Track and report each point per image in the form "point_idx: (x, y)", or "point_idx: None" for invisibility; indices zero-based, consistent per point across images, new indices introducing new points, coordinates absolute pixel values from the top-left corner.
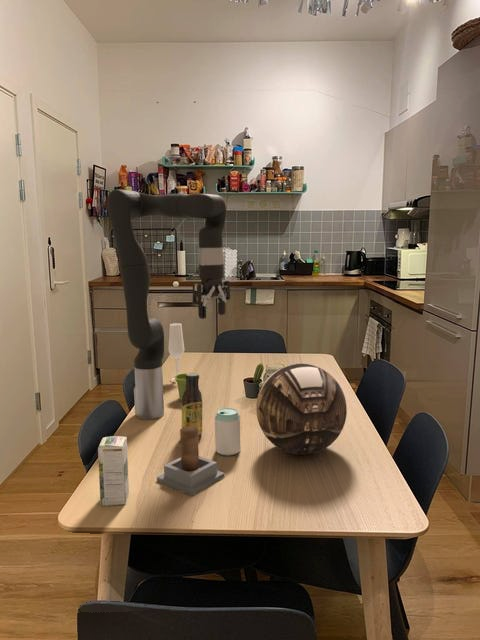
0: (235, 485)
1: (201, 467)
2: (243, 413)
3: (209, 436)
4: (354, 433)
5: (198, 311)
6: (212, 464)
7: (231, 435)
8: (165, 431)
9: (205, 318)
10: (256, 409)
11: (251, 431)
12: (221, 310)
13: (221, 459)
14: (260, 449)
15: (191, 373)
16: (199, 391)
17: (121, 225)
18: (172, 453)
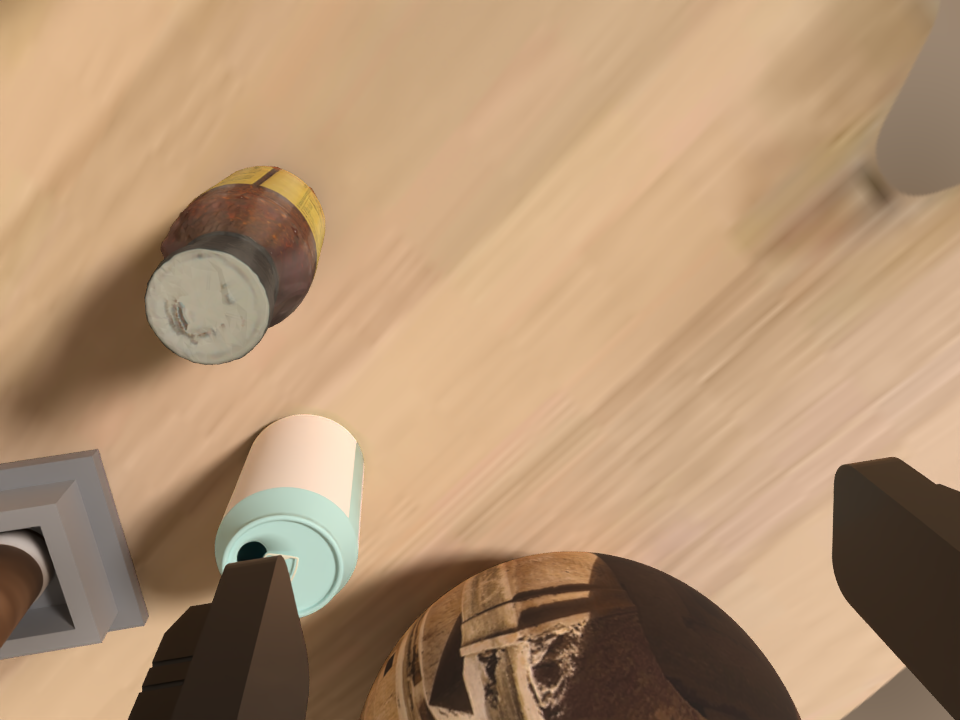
0: (142, 683)
1: (19, 639)
2: (710, 152)
3: (350, 272)
4: (817, 664)
5: (136, 699)
6: (74, 646)
7: None
8: (200, 32)
9: (305, 658)
10: (399, 677)
11: (546, 370)
12: (886, 590)
13: None
14: (428, 535)
15: (215, 284)
16: (279, 306)
17: None
18: (82, 307)
